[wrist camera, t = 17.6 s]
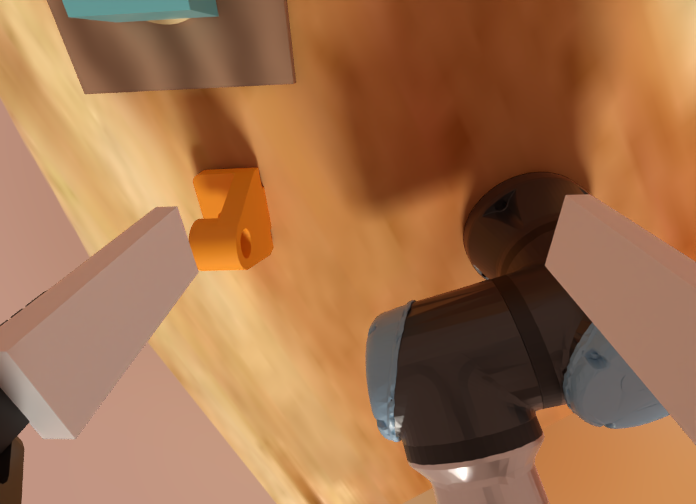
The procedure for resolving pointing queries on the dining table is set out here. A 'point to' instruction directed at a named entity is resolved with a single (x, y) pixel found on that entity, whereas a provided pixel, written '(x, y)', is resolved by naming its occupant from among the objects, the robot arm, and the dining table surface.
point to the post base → (182, 49)
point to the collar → (139, 9)
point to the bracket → (230, 220)
